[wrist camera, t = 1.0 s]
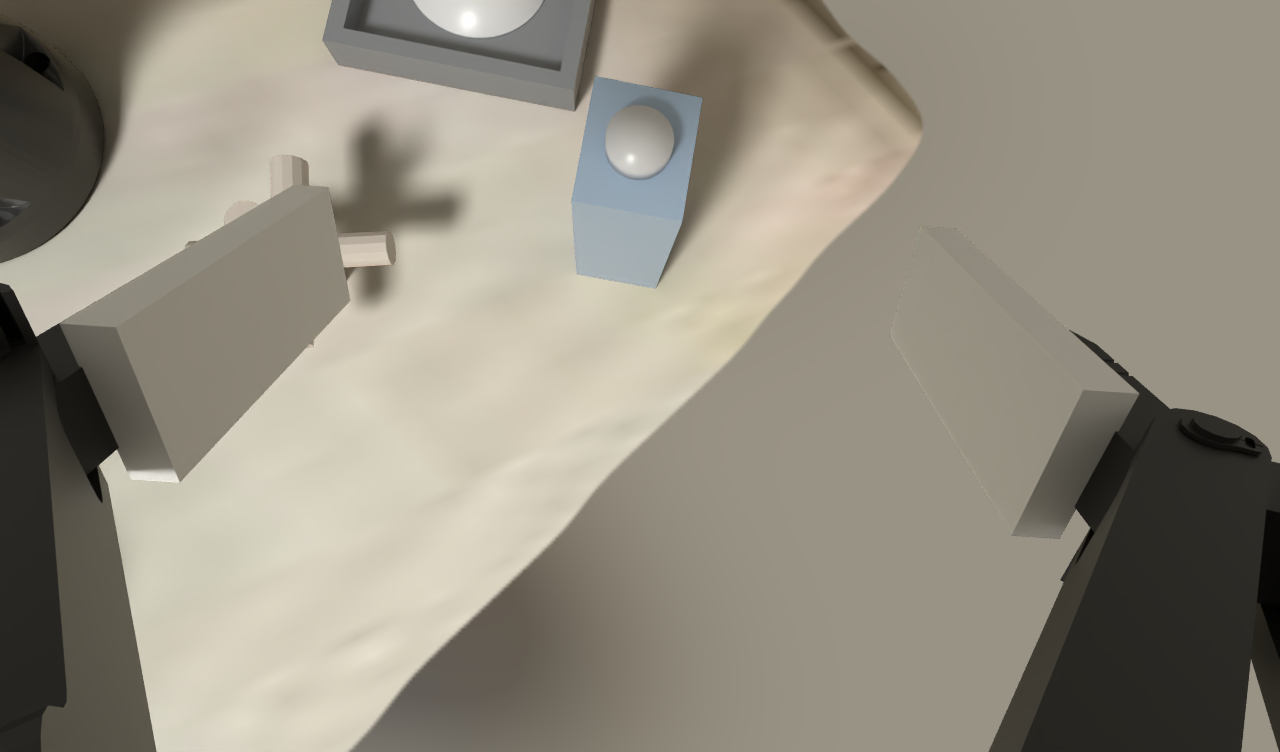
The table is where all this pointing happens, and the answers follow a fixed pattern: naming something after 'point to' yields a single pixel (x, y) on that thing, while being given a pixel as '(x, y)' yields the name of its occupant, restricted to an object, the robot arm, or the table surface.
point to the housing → (469, 44)
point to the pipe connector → (353, 245)
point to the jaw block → (632, 180)
